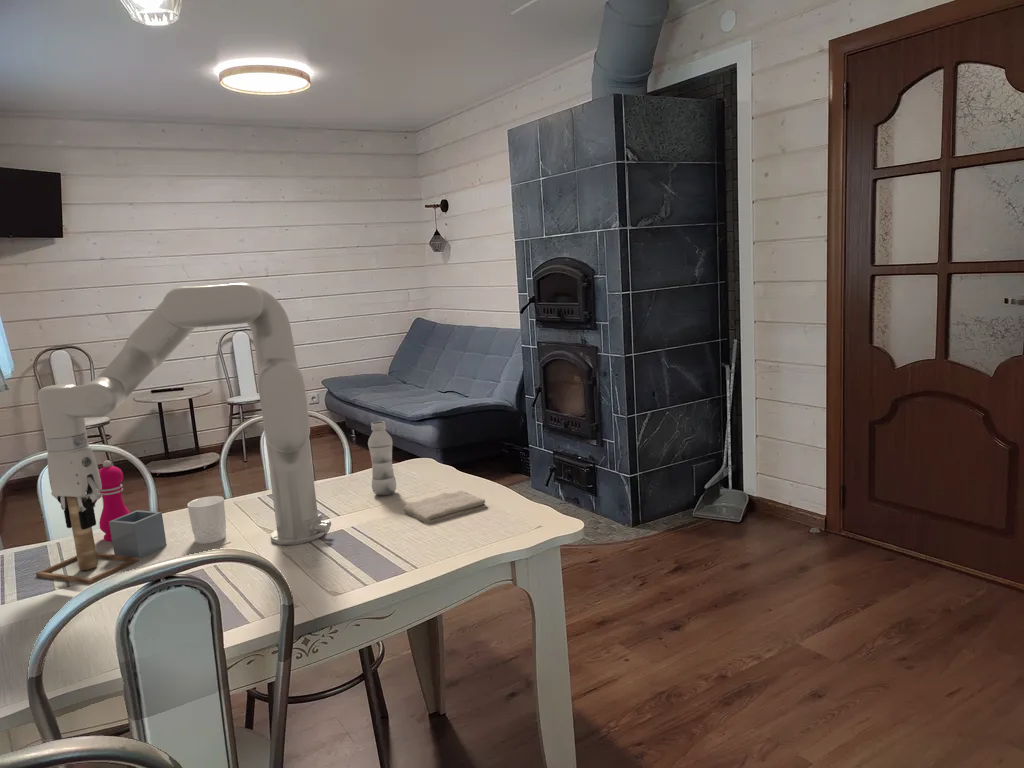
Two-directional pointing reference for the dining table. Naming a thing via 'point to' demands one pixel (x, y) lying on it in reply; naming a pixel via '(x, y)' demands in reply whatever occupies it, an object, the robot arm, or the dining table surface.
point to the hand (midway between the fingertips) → (81, 525)
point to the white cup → (207, 519)
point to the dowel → (82, 537)
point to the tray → (47, 574)
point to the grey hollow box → (138, 533)
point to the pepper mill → (111, 497)
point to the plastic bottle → (381, 460)
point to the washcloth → (444, 506)
